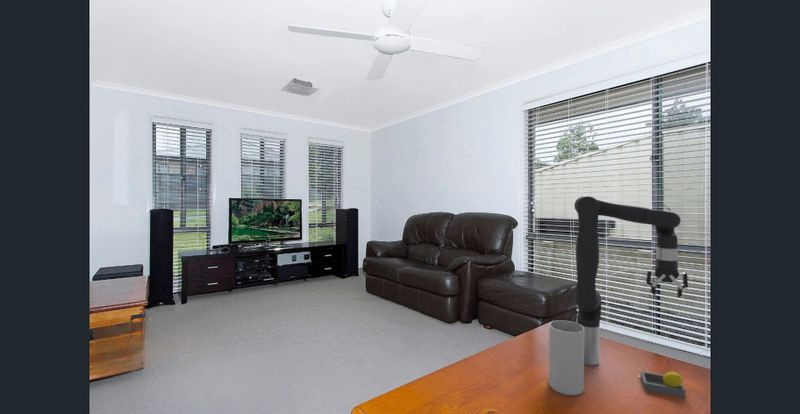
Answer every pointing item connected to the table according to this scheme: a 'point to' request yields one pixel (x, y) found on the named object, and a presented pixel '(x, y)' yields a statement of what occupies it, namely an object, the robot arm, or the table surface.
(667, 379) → the lemon
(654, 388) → the gray open tray
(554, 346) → the cylinder vase
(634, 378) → the table surface
